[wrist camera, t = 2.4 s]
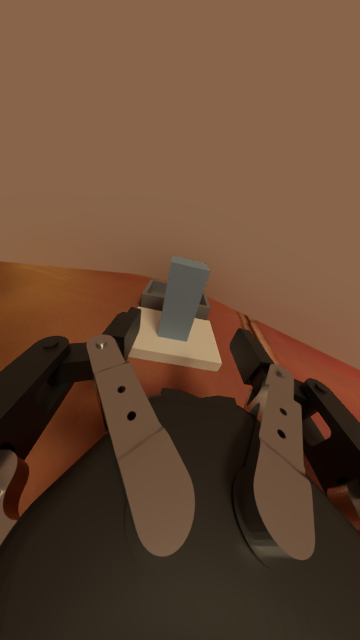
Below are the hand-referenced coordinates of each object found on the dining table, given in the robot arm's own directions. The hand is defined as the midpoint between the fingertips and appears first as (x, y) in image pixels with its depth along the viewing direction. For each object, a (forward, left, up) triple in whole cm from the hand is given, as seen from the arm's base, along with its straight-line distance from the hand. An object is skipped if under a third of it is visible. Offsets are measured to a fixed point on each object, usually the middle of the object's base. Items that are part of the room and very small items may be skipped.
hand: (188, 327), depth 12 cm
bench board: (0, +11, -11) cm, 16 cm away
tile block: (0, +11, -9) cm, 15 cm away
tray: (0, +25, -11) cm, 28 cm away
